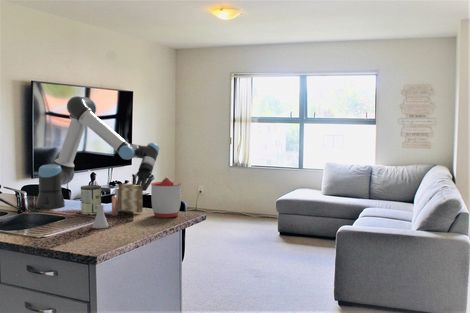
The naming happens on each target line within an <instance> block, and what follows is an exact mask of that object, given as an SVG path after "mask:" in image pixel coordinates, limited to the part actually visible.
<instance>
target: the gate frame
mask: <svg viewBox="0 0 470 313" xmlns="http://www.w3.org/2000/svg"><path fill="white" fill-rule="evenodd" d="M118 212H121V210H119V188H114V195H111V216H114V217H115V216H118Z"/></svg>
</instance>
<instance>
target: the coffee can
mask: <svg viewBox="0 0 470 313" xmlns="http://www.w3.org/2000/svg"><path fill="white" fill-rule="evenodd" d="M101 188H102V185H97V184H89V185H82V186H80V208H81V209H80V211H81V212H80V213H81V214H82V215H88V214H90V215H97V205H102V194H101V192H102V189H101Z"/></svg>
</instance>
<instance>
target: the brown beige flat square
mask: <svg viewBox="0 0 470 313" xmlns="http://www.w3.org/2000/svg"><path fill="white" fill-rule="evenodd" d="M118 189H119V210H120V211H127V212H135V213H140V214H141V213H143V192H144V191H143V186H141V184H140V185H132V183H131V184H130V183H118Z"/></svg>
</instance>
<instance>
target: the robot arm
mask: <svg viewBox="0 0 470 313" xmlns="http://www.w3.org/2000/svg"><path fill="white" fill-rule="evenodd" d="M66 110H67V112H68V113H69V118H70V123H69V125H68V128H67V131H66V134H65V137H64V141H63V143H62V146H61V149H60V152H59V155H58V157H57V158H56V159H54V161H53V163H52V164H51V163H49V164H43V165H41V166H40V167H39V168H38V173H37V174H38V195H37V199H36V203H35V208H37V209H42V210H47V209H48V210H51V209H52V210H53V209H61V208H63V207H66V204H65V199H64V196H63V194H62V186H65V185H67V184H69V183H71V182H72V180H73V179H74V177H75V170H74V169H75V164H74V160H75V159H76V158H75V157H76V155H77V153H78V149H79V146H80V143H81V140H82V136H83V134H84V131H85V128H86V126H87V128H89V129H90V130H91V131H93V133H94V134H96V135H97V136H98V137H100V139H102V141H104V142H105V143H106V144H107V145H109V146H110V147H111V148H112V149H113V150H115V152H117V154H119V156H120V158H121V159H123V160H131V159H141V162H140V165H139V168H138V171H137V172H136V173H135V174H134V173H133V174H132V175H131V176H132V180H131V185H141V186H143V192H146V191H147V190H148V188H149V187H150V186H151V183H153V182H152V181H153V180H155V175H154V174H152V173H153V170H154V167H155V164H156V162H157V158H158V155H159V152H160V146H159V145H158V144H157V143H154V142H149V143H148V144H147V145H141V144H133V143H129V142H127V140H125V139H124V138H123V137H122V136H121V135H119V134H118V133H117V132H116V131H115V130H113V129H112V128H111V127H110V126H109V125H107V123H105V122H104V121H103V120H102V119H100V118H99V117H98V116H97V115H96V113H97V105H96V102H94V100H92V98H89V97H86V96H79V95H78V96H73V97H71V98H70V99H69V100H68V101H67V103H66Z"/></svg>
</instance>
